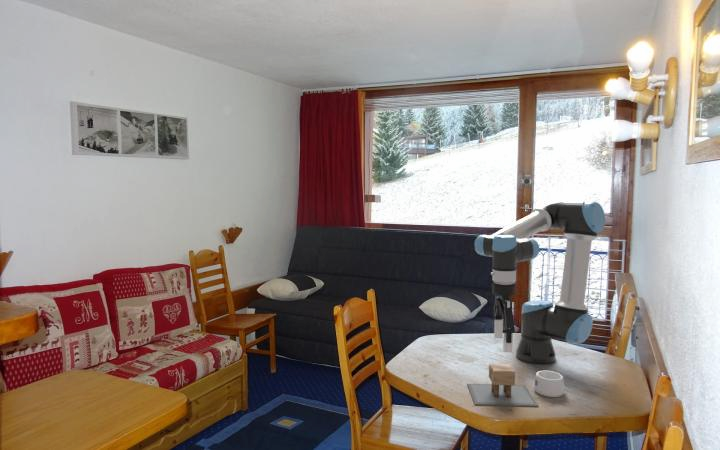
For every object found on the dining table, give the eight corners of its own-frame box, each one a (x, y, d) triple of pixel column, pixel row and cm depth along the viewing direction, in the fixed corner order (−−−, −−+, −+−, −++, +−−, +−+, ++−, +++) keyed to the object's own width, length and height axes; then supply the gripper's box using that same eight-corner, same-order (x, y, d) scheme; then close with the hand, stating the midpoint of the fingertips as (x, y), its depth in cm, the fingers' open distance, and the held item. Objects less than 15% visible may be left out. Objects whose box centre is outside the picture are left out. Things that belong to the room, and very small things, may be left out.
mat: (524, 386, 174) (524, 384, 174) (538, 406, 158) (538, 405, 158) (467, 384, 176) (467, 383, 176) (475, 405, 160) (475, 403, 160)
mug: (568, 398, 165) (568, 381, 164) (538, 397, 166) (538, 380, 165) (557, 384, 177) (557, 367, 176) (529, 383, 177) (529, 366, 177)
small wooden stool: (488, 389, 171) (489, 363, 170) (509, 389, 170) (509, 363, 169) (492, 398, 164) (493, 371, 163) (514, 398, 163) (515, 371, 163)
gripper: (485, 274, 176) (484, 332, 178) (500, 290, 151) (499, 358, 153) (506, 274, 176) (505, 332, 178) (525, 290, 151) (524, 358, 153)
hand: (502, 344), depth 166 cm, fingers open, 13 cm apart
